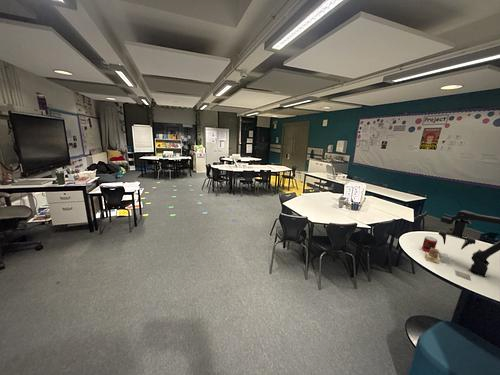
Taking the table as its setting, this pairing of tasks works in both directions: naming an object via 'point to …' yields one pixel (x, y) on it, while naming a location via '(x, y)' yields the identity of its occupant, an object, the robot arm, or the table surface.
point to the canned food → (429, 243)
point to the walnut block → (433, 252)
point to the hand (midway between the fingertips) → (452, 246)
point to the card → (463, 275)
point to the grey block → (443, 258)
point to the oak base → (432, 258)
